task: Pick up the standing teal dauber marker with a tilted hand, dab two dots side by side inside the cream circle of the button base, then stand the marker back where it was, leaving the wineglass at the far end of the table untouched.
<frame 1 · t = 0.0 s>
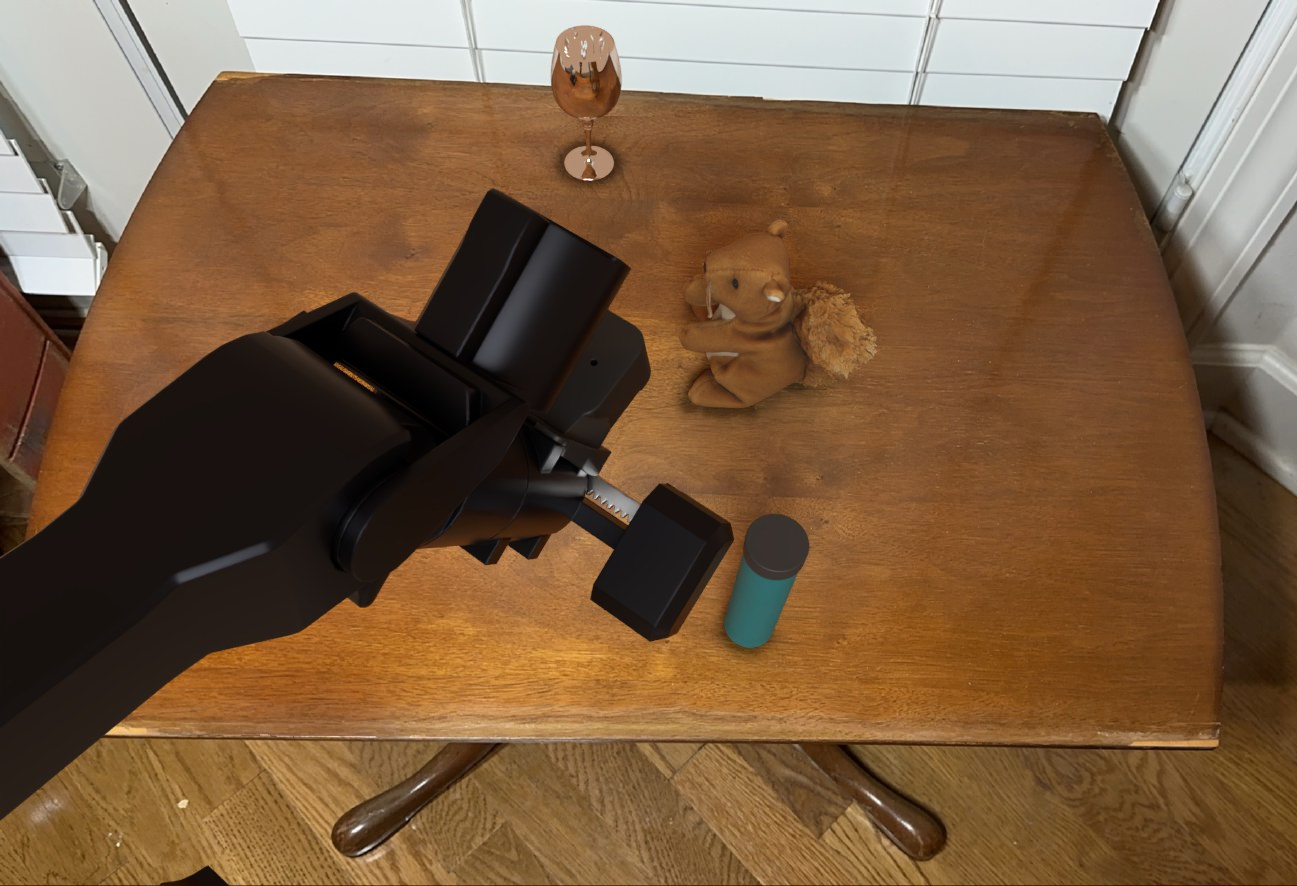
hand: (598, 482, 51), 12 cm above the table, tool tilted 35°, fingers open, 9 cm apart
stuffed squirrel: (765, 366, 71), on the table
button base: (224, 486, 64), on the table
wineglass: (589, 165, 82), on the table
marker: (746, 630, 60), on the table
pad disc: (207, 463, 61), point 3 cm above the table, slide at 0.0 cm
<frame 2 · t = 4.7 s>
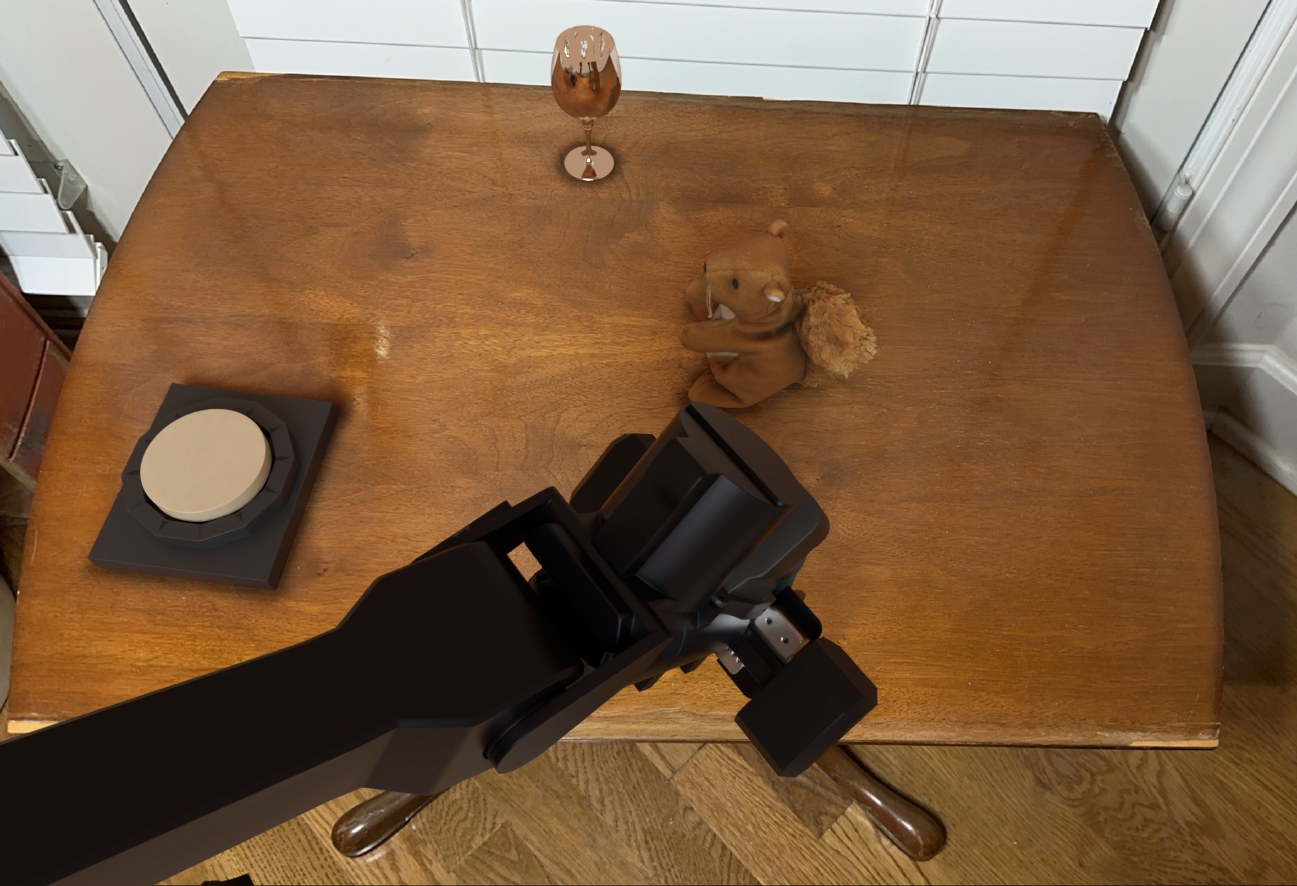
hand: (778, 575, 54), 7 cm above the table, tool tilted 45°, fingers closed on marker, 3 cm apart
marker: (746, 630, 60), on the table, touching gripper
everything else where it was.
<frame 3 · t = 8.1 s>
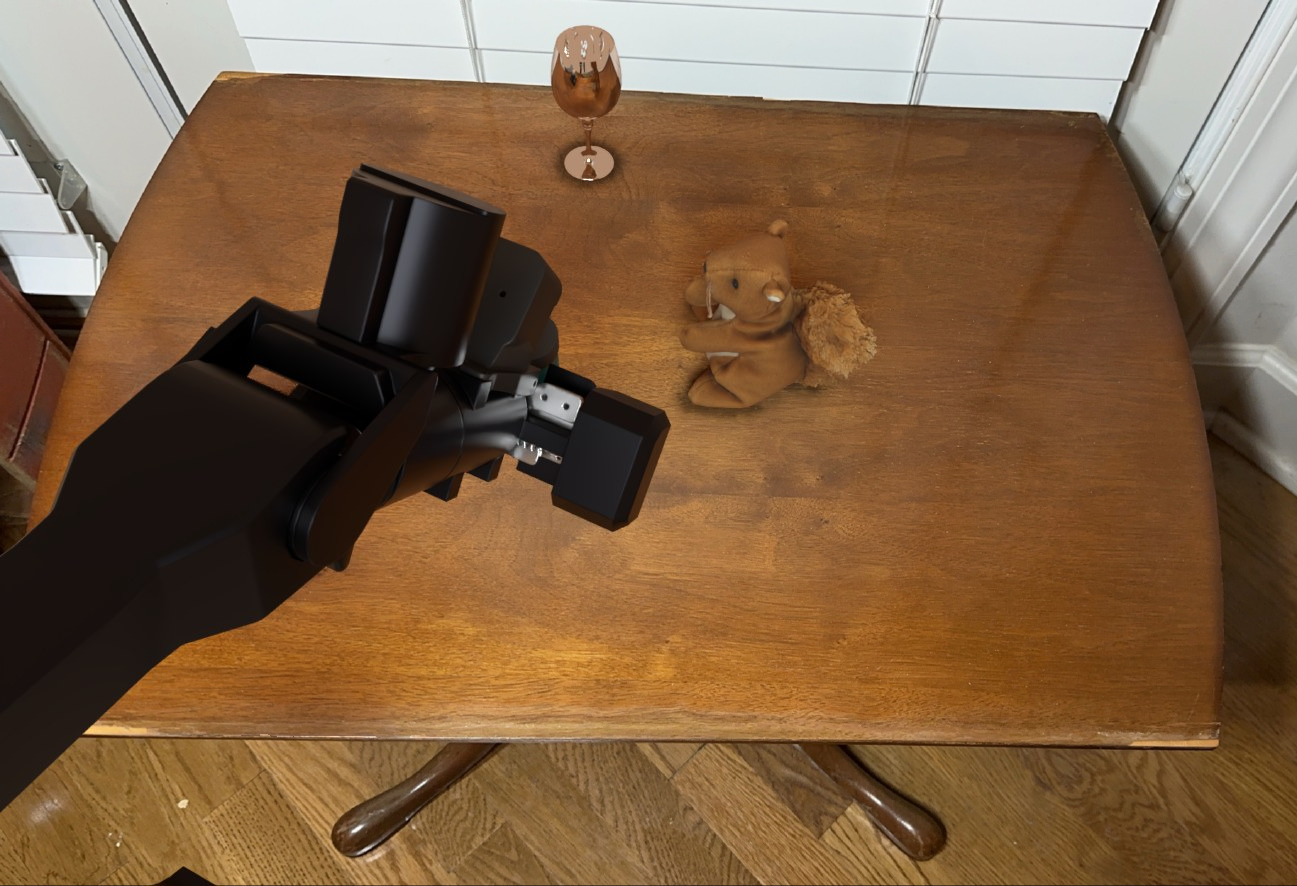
hand: (546, 385, 54), 13 cm above the table, tool tilted 45°, fingers closed on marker, 3 cm apart
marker: (543, 463, 59), point 5 cm above the table, touching gripper
everything else where it was.
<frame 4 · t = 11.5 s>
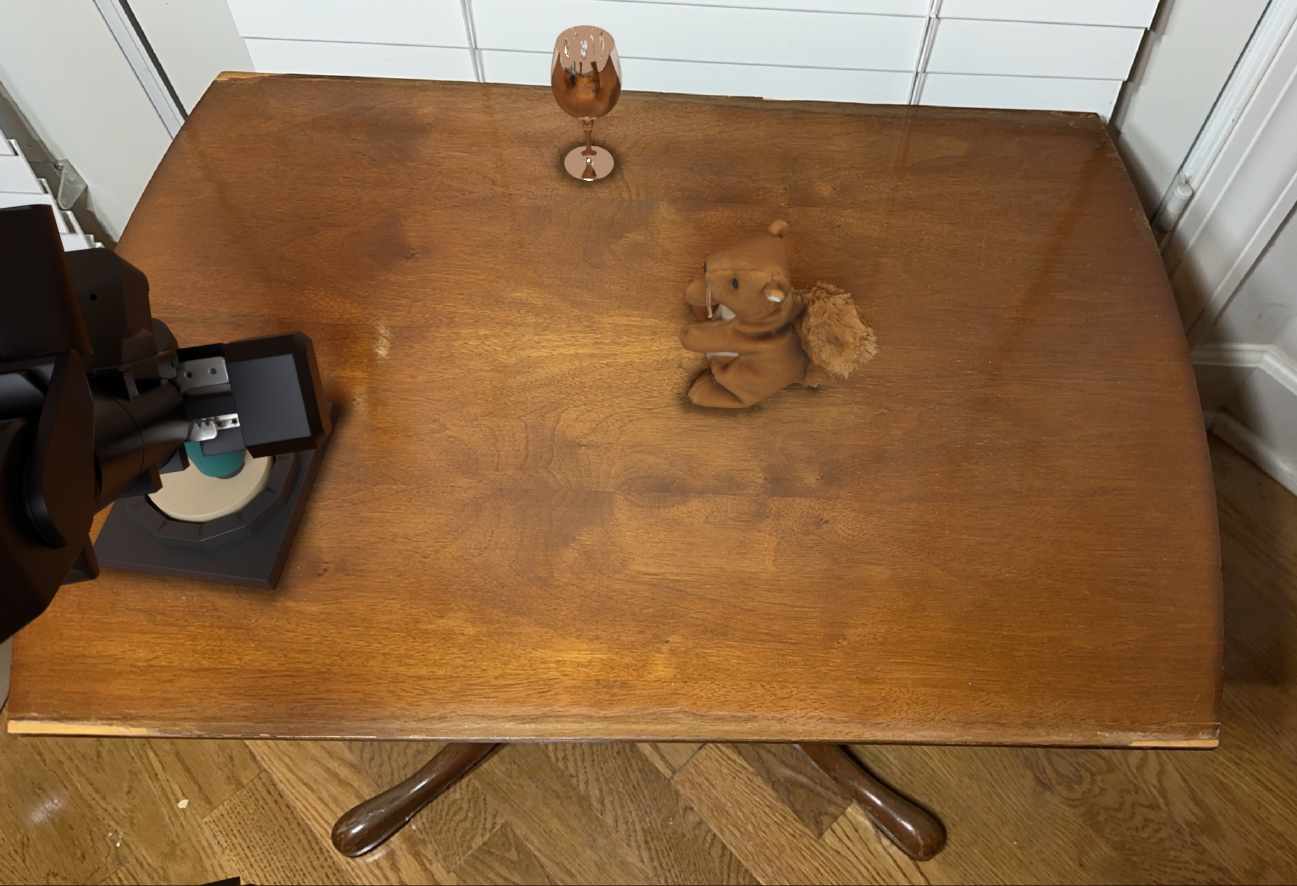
hand: (186, 388, 56), 10 cm above the table, tool tilted 45°, fingers closed on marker, 3 cm apart
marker: (227, 465, 61), point 3 cm above the table, touching gripper, pad disc
pad disc: (210, 467, 62), point 3 cm above the table, slide at -0.5 cm, touching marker
everything else where it was.
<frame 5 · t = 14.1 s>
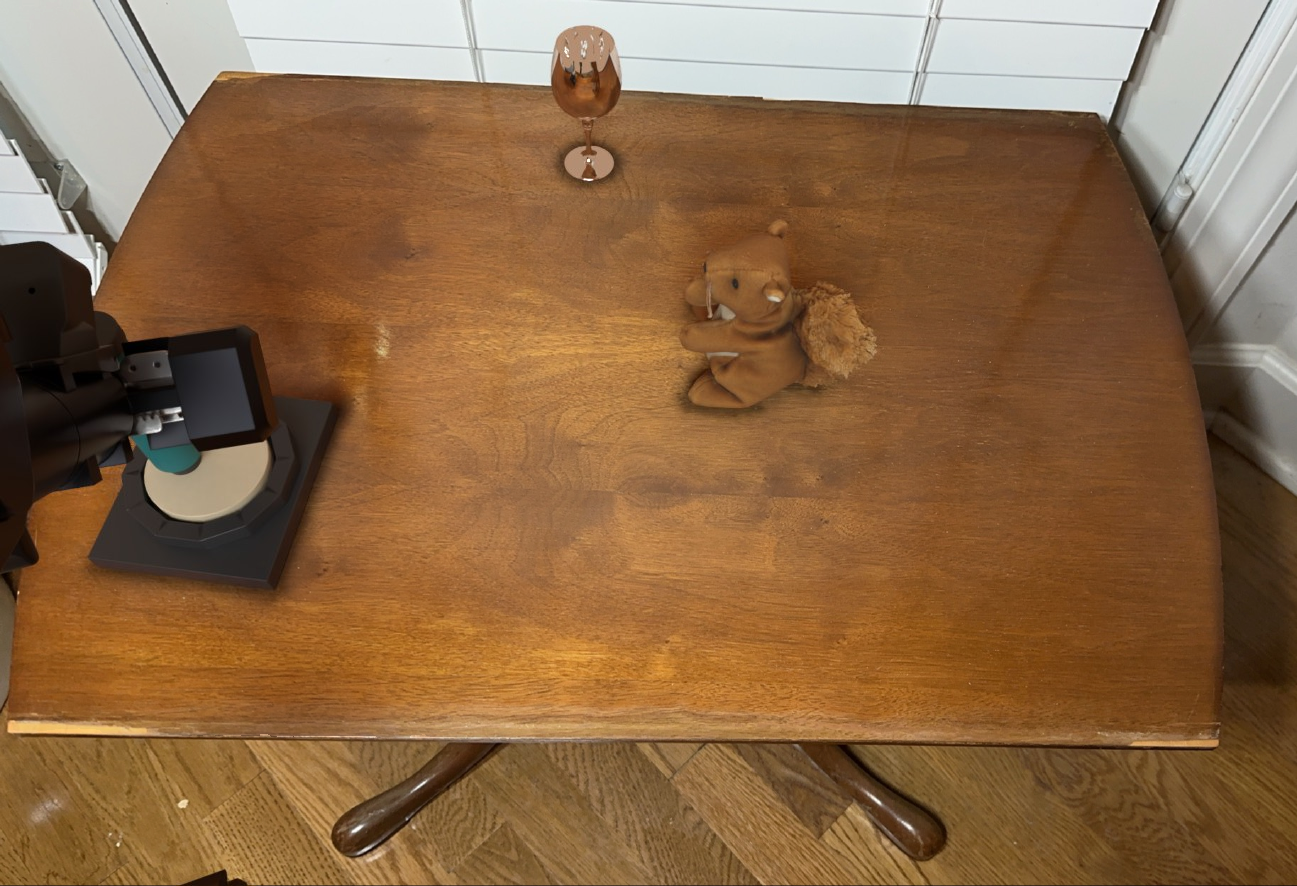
hand: (139, 383, 56), 10 cm above the table, tool tilted 45°, fingers closed on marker, 3 cm apart
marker: (184, 461, 61), point 3 cm above the table, touching gripper, pad disc
everything else where it was.
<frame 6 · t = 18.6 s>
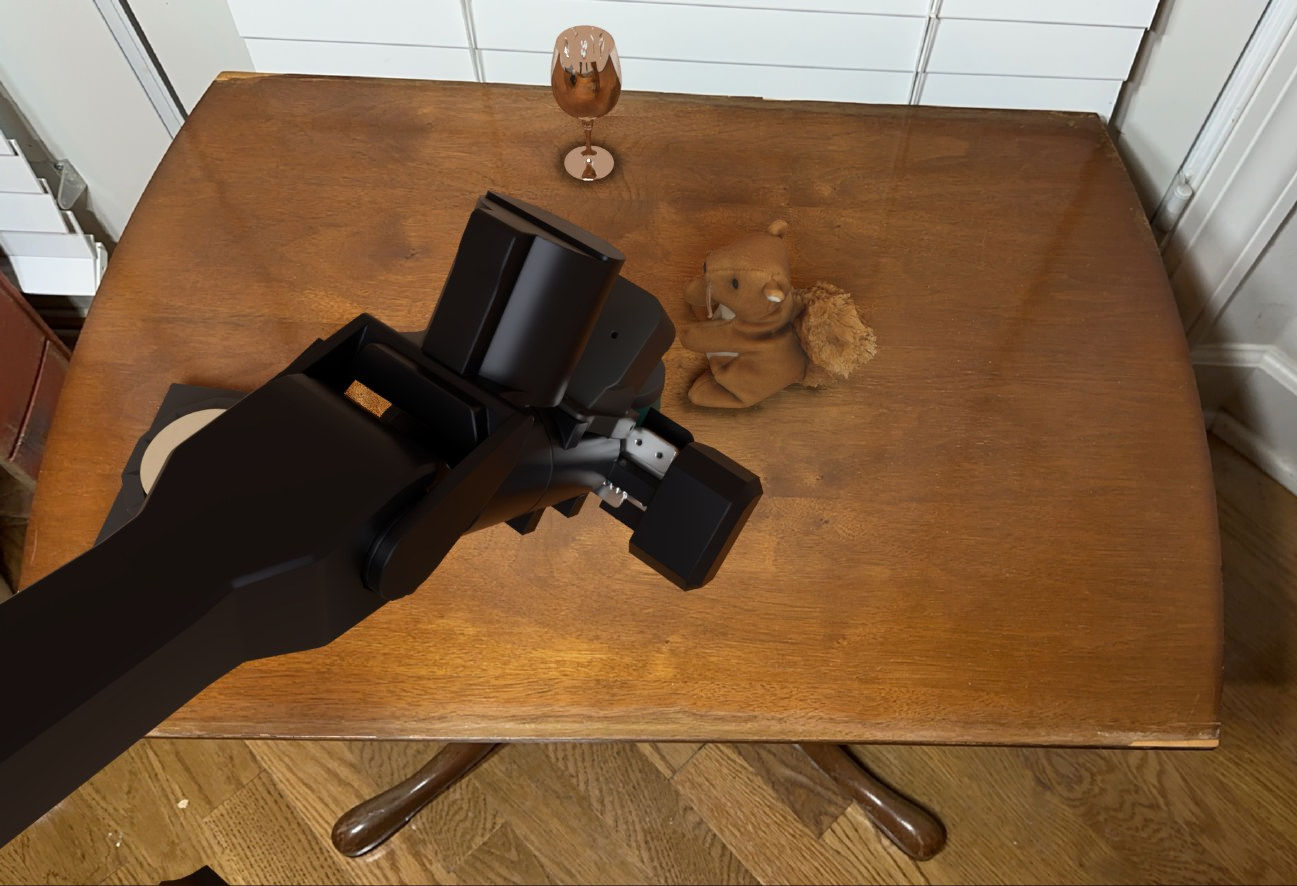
hand: (644, 421, 53), 13 cm above the table, tool tilted 45°, fingers closed on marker, 3 cm apart
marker: (627, 496, 58), point 5 cm above the table, touching gripper
pad disc: (207, 463, 61), point 3 cm above the table, slide at 0.1 cm
everything else where it was.
when the fingers open (7 cm above the table, at t = 22.1 s): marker stays where it is, on the table.
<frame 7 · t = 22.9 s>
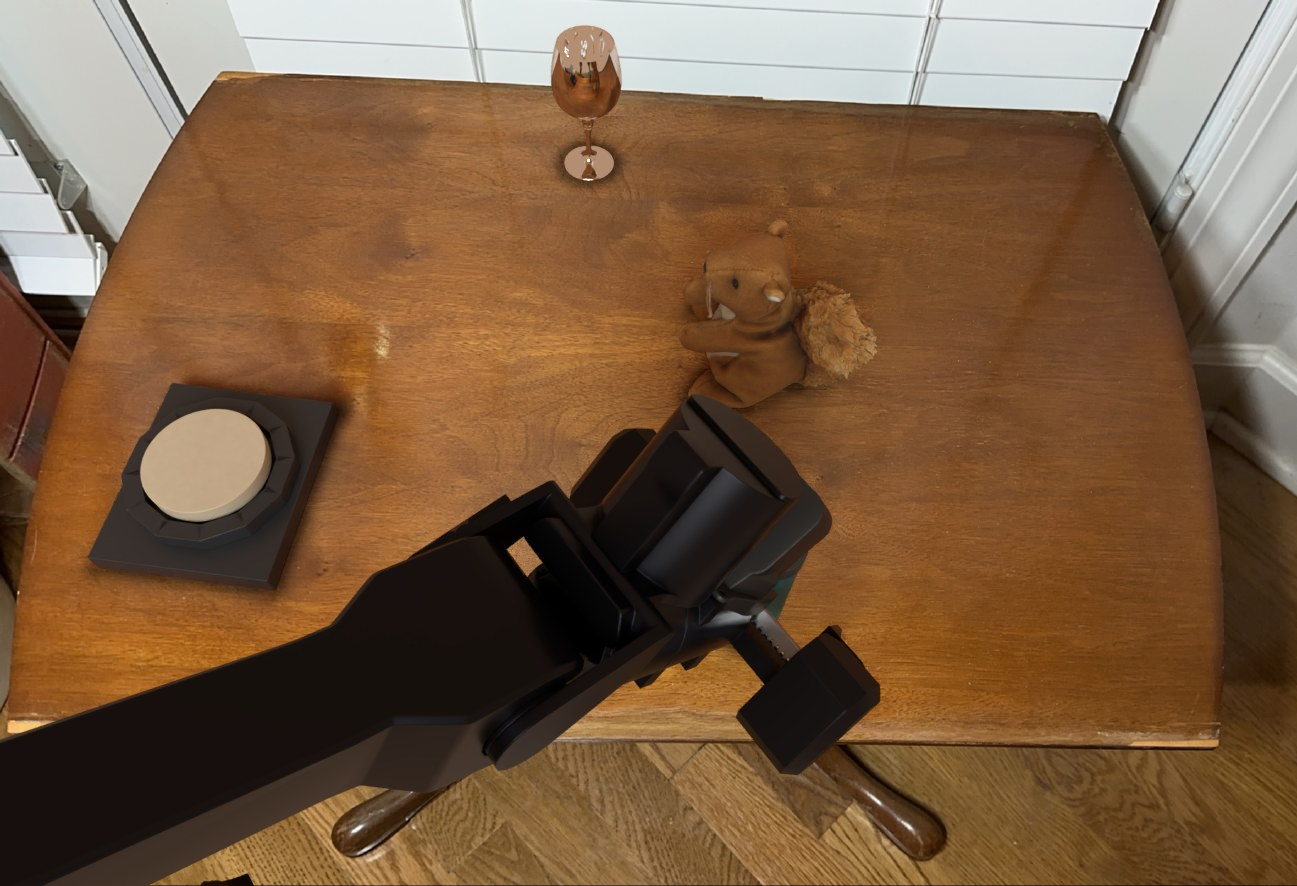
hand: (780, 572, 54), 8 cm above the table, tool tilted 45°, fingers open, 9 cm apart
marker: (746, 630, 60), on the table
everything else where it was.
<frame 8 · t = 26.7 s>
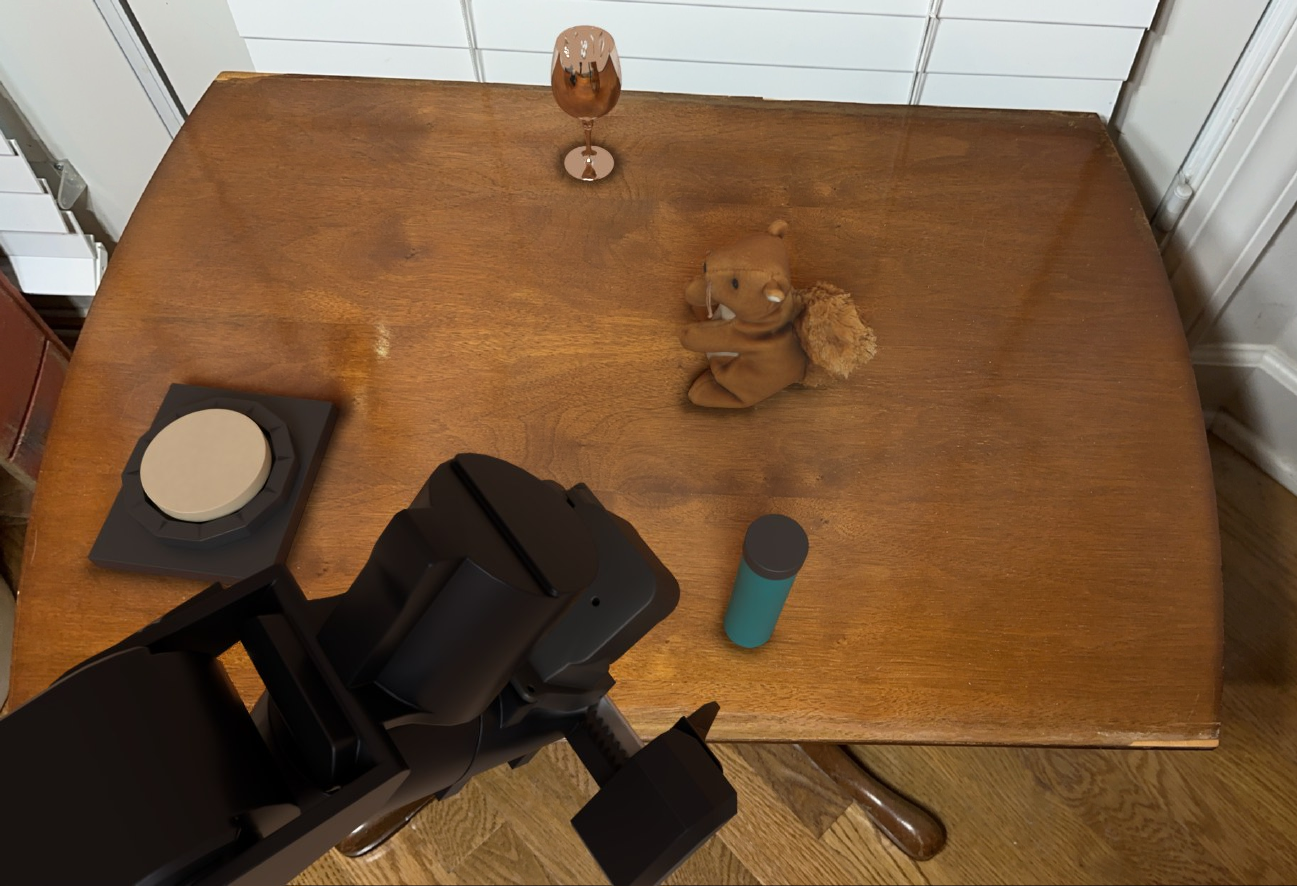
hand: (654, 636, 46), 13 cm above the table, tool tilted 45°, fingers open, 9 cm apart
nothing on the table moved.
at the end: pad disc pushed in 0.5 cm at the most during the clip, back to where it started at the end; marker tilted 0°; wineglass moved 0.2 cm from its start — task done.
